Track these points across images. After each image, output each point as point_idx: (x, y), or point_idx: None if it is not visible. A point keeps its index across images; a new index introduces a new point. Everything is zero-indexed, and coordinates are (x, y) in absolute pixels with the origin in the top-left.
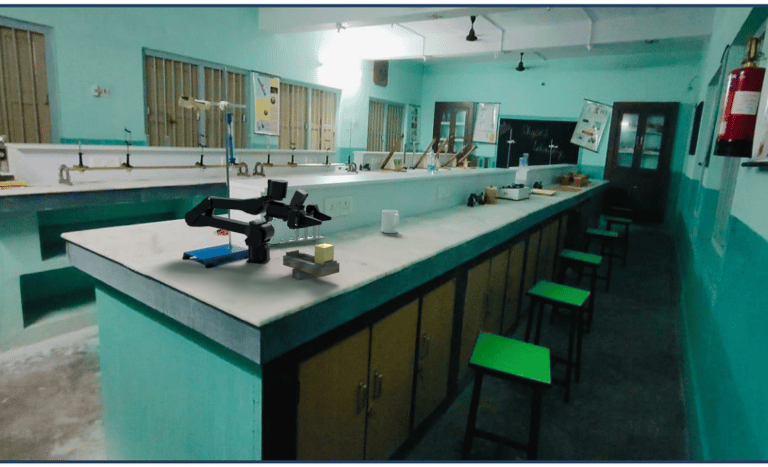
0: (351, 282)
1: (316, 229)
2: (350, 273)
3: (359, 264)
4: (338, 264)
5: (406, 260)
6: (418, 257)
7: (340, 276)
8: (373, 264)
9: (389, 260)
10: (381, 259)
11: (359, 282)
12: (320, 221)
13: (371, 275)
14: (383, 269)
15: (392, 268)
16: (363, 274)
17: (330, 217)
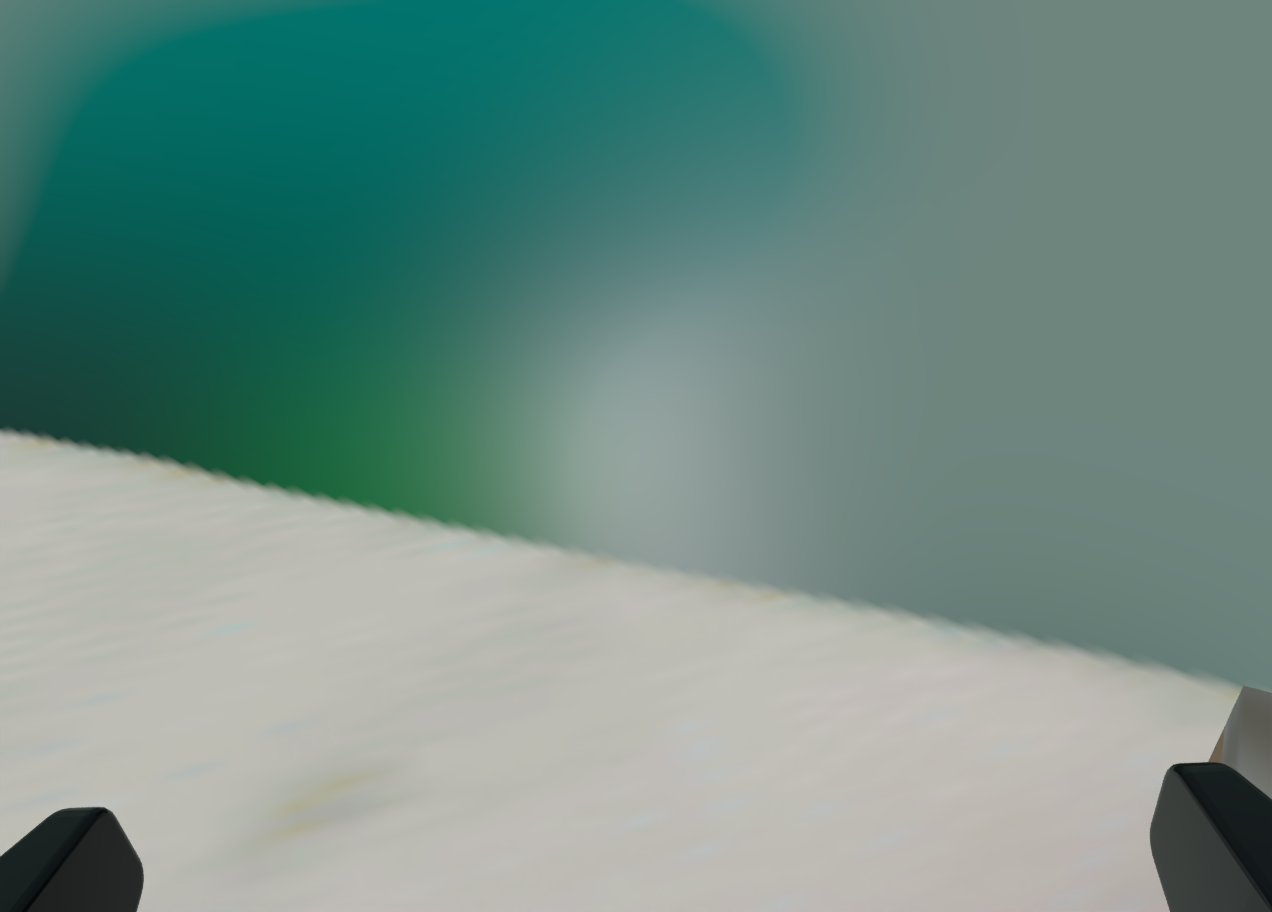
0: (1098, 707)
1: None
2: (788, 822)
3: (356, 847)
4: (1260, 704)
5: (148, 503)
6: (41, 455)
7: (976, 891)
8: (331, 706)
9: (148, 615)
10: (103, 689)
11: (1041, 644)
12: (1251, 799)
13: (752, 617)
14: (504, 582)
15: (448, 532)
16: (756, 688)
17: (93, 843)
